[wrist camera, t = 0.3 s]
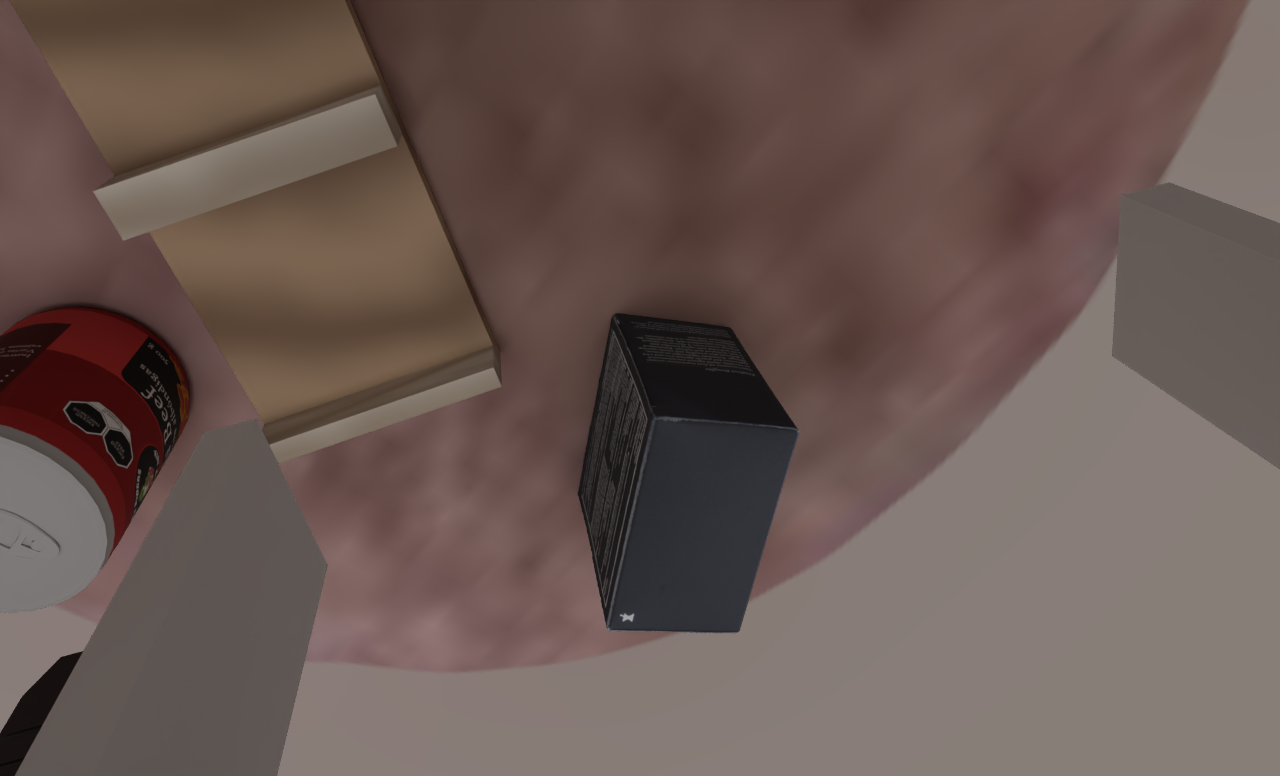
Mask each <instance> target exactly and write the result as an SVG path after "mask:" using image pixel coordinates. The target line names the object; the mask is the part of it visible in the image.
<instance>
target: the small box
mask: <svg viewBox="0 0 1280 776" xmlns="http://www.w3.org/2000/svg"><path fill="white" fill-rule="evenodd" d="M798 435H799V430H798V429H797V427H796V426H795V424H794V423H793V421H792V420H791V419H790V417H789V416H788V414H787V413H786V411H785V410H784V408H783V407H782V405H781V404H780V402H779V401H778V399H777V398H776V396H775V395H774V393H773V392H772V390H771V389H770V388H769V386H768V384H767V383H766V381H765V380H764V378H763V377H762V375H761V374H760V372H759V371H758V369H757V368H756V366H755V365H754V363H753V362H752V360H751V358H750V357H749V356H748V354H747V352H746V351H745V349H744V348H743V346H742V345H741V343H740V341H739V340H738V339H737V337H736V335H735V334H734V332H733V331H732V329H731V328H727V327H720V326H713V325H706V324H696V323H689V322H681V321H674V320H664V319H656V318H648V317H641V316H632V315H624V314H616V315H614V316H613V317H612V320H611V327H610V332H609V336H608V341H607V346H606V351H605V357H604V361H603V367H602V372H601V377H600V379H599V387H598V392H597V397H596V403H595V408H594V413H593V418H592V423H591V427H590V432H589V438H588V444H587V449H586V453H585V459H584V465H583V471H582V477H581V482H580V488H579V492H578V496H579V500H580V503H581V508H582V512H583V515H584V520H585V523H586V527H587V533H588V537H589V542H590V546H591V551H592V559H593V563H594V568H595V573H596V579H597V583H598V587H599V594H600V597H601V603H602V608H603V611H604V616H605V622H606V627H607V629H608V630H609V631H649V632H690V633H692V632H694V633H737V632H739V631H740V627H741V624H742V621H743V617H744V614H745V611H746V607H747V604H748V601H749V597H750V594H751V590H752V587H753V584H754V580H755V577H756V573H757V570H758V567H759V563H760V560H761V557H762V553H763V550H764V547H765V543H766V540H767V536H768V533H769V530H770V526H771V523H772V520H773V517H774V513H775V510H776V507H777V504H778V500H779V497H780V494H781V490H782V487H783V484H784V480H785V477H786V474H787V471H788V468H789V464H790V461H791V458H792V454H793V451H794V448H795V445H796V442H797V438H798Z"/></svg>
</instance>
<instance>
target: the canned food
mask: <svg viewBox="0 0 1280 776" xmlns="http://www.w3.org/2000/svg"><path fill="white" fill-rule="evenodd" d="M189 408H190V405H189V392H188V383H187V380H186V377H185V373H184V370H183V368H182V367H181V365H180V363H179V361H178V360H177V358H176V356H175V355H174V354H173V353H172V351H171V350H170V349H169V348H168V347H167V345H166V344H165V343H164V342H163V341H161V340H160V339H159V338H158V337H157V336H156V335H154V334H153V333H152V332H151V331H149V330H148V329H146V328H144V327H143V326H141V325H139V324H138V323H136V322H134V321H132V320H130V319H127V318H125V317H123V316H120V315H118V314H115V313H111V312H107V311H103V310H99V309H91V308H81V307H77V308H61V309H56V310H51V311H47V312H43V313H39V314H35V315H32V316H30V317H28V318H26V319H23V320H21V321H19V322H17V323H16V324H15V325H13V326H12V327H11V328H10V329H8V330H7V331H6V332H5V333H4V334H2V335H1V336H0V613H16V612H25V611H34V610H38V609H42V608H46V607H49V606H53V605H56V604H58V603H60V602H62V601H65V600H67V599H69V598H71V597H73V596H74V595H76V594H77V593H78V592H80V591H81V590H83V589H84V588H85V587H87V586H88V584H89V583H90V582H91V581H92V580H93V578H94V577H95V576H96V575H97V574H98V572H99V571H100V570H101V569H102V568H103V567H104V565H105V564H106V563H107V561H108V559H109V557H110V556H111V554H112V552H113V551H114V549H115V548H116V547H117V545H118V543H119V541H120V540H121V538H122V536H123V534H124V533H125V531H126V529H127V528H128V526H129V524H130V522H131V521H132V519H133V517H134V515H135V514H136V512H137V510H138V508H139V507H140V505H141V503H142V501H143V500H144V498H145V496H146V494H147V493H148V491H149V489H150V487H151V486H152V484H153V482H154V480H155V479H156V477H157V475H158V473H159V472H160V470H161V468H162V466H163V465H164V463H165V461H166V459H167V458H168V456H169V454H170V452H171V451H172V449H173V447H174V446H175V444H176V442H177V440H178V439H179V437H180V435H181V433H182V431H183V429H184V427H185V425H186V422H187V419H188V414H189Z"/></svg>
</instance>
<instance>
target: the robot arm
mask: <svg viewBox="0 0 1280 776" xmlns="http://www.w3.org/2000/svg"><path fill="white" fill-rule="evenodd" d="M1116 276H1117V277H1116V294H1115V312H1114V313H1115V314H1114V331H1113V349H1112V356H1113V357H1114V358H1116V359H1117V360H1119V361H1121V362H1122V363H1123V364H1125V365H1126V366H1128V367H1129V368H1131V369H1132V370H1134V371H1135V372H1137V373H1138V374H1140V375H1141V376H1143V377H1144V378H1145V379H1147V380H1148V381H1150V382H1151V383H1153V384H1155V385H1156V386H1157V387H1159V388H1160V389H1162V390H1163V391H1165V392H1166V393H1168V394H1169V395H1171V396H1172V397H1174V398H1175V399H1177V400H1178V401H1179V402H1181V403H1182V404H1184V405H1185V406H1187V407H1188V408H1190V409H1191V410H1193V411H1194V412H1196V413H1197V414H1199V415H1200V416H1202V417H1203V418H1205V419H1206V420H1208V421H1209V422H1211V423H1212V424H1214V425H1215V426H1216V427H1218V428H1219V429H1221V430H1222V431H1224V432H1225V433H1227V434H1228V435H1230V436H1232V437H1233V438H1234V439H1236V440H1237V441H1239V442H1240V443H1242V444H1243V445H1245V446H1246V447H1248V448H1249V449H1250V450H1252V451H1253V452H1255V453H1257V454H1258V455H1259V456H1261V457H1262V458H1264V459H1265V460H1267V461H1268V462H1270V463H1271V464H1273V465H1274V466H1276V467H1277V468H1279V469H1280V223H1278V222H1275V221H1272V220H1270V219H1267V218H1264V217H1261V216H1258V215H1256V214H1253V213H1251V212H1248V211H1245V210H1242V209H1240V208H1237V207H1234V206H1232V205H1229V204H1226V203H1223V202H1220V201H1218V200H1215V199H1212V198H1209V197H1207V196H1204V195H1202V194H1199V193H1196V192H1194V191H1191V190H1188V189H1185V188H1183V187H1180V186H1177V185H1175V184H1172V183H1165V184H1161V185H1157V186H1154V187H1150V188H1146V189H1142V190H1138V191H1134V192H1130V193H1126V194H1123V195H1121V201H1120V219H1119V238H1118V256H1117V275H1116ZM327 566H328V565H327V563H326V561H325V559H324V557H323V555H322V553H321V550H320V548H319V546H318V544H317V542H316V540H315V538H314V536H313V534H312V532H311V530H310V528H309V526H308V524H307V522H306V520H305V518H304V515H303V513H302V511H301V509H300V507H299V505H298V503H297V501H296V499H295V497H294V495H293V493H292V491H291V489H290V487H289V485H288V483H287V480H286V478H285V476H284V474H283V472H282V470H281V468H280V466H279V464H278V462H277V460H276V458H275V456H274V454H273V452H272V450H271V448H270V445H269V443H268V441H267V439H266V437H265V435H264V433H263V431H262V429H261V427H260V425H259V423H258V421H257V419H254V420H250V421H246V422H242V423H238V424H234V425H231V426H227V427H223V428H219V429H215V430H211V431H207V432H204V433H203V435H202V437H201V438H200V440H199V442H198V444H197V446H196V448H195V449H194V451H193V453H192V455H191V457H190V458H189V460H188V462H187V464H186V466H185V468H184V469H183V471H182V473H181V475H180V477H179V478H178V480H177V482H176V484H175V486H174V487H173V489H172V491H171V493H170V495H169V497H168V498H167V500H166V502H165V504H164V506H163V507H162V509H161V511H160V513H159V515H158V517H157V518H156V520H155V522H154V524H153V526H152V527H151V529H150V531H149V533H148V535H147V537H146V538H145V540H144V542H143V544H142V546H141V547H140V549H139V551H138V553H137V555H136V556H135V558H134V560H133V562H132V564H131V566H130V567H129V569H128V571H127V573H126V575H125V576H124V578H123V580H122V582H121V584H120V586H119V587H118V589H117V591H116V593H115V595H114V596H113V598H112V600H111V602H110V604H109V606H108V607H107V609H106V611H105V613H104V615H103V616H102V618H101V620H100V622H99V624H98V626H97V627H96V629H95V631H94V633H93V635H92V636H91V638H90V640H89V642H88V644H87V646H86V647H85V649H84V651H82V652H79V653H74V654H71V655H67V656H63V657H61V658H60V659H59V660H58V661H57V662H56V663H55V664H54V665H53V666H52V667H51V668H50V669H49V670H48V671H47V672H46V673H45V674H44V675H43V676H42V677H41V678H40V679H39V680H38V681H37V682H36V683H35V684H34V685H33V686H32V687H31V688H30V689H29V690H28V691H27V692H26V693H25V694H24V695H23V696H22V698H21V699H20V701H19V703H18V704H17V706H16V708H15V709H14V711H13V713H12V715H11V716H10V718H9V719H8V721H7V723H6V725H5V726H4V728H3V729H2V731H1V733H0V776H277V774H278V769H279V765H280V761H281V757H282V753H283V749H284V745H285V740H286V736H287V732H288V728H289V724H290V719H291V715H292V711H293V707H294V703H295V698H296V695H297V691H298V686H299V682H300V678H301V674H302V669H303V665H304V661H305V657H306V653H307V649H308V645H309V641H310V637H311V632H312V628H313V624H314V620H315V616H316V612H317V608H318V603H319V599H320V595H321V591H322V587H323V583H324V578H325V574H326V570H327Z"/></svg>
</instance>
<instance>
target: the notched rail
mask: <svg viewBox="0 0 1280 776" xmlns="http://www.w3.org/2000/svg"><path fill="white" fill-rule="evenodd" d="M10 2H11V4H12V5H13V7H14V9H15V10H16V12H17V14H18V15H19V17H20V19H21V20H22V22H23V24H24V25H25V27H26V29H27V30H28V32H29V34H30V35H31V37H32V39H33V40H34V42H35V44H36V45H37V47H38V49H39V50H40V52H41V54H42V55H43V57H44V59H45V60H46V62H47V64H48V65H49V67H50V69H51V70H52V72H53V74H54V75H55V77H56V79H57V80H58V82H59V84H60V85H61V87H62V88H63V90H64V92H65V93H66V95H67V97H68V98H69V100H70V102H71V103H72V105H73V107H74V108H75V110H76V112H77V113H78V115H79V117H80V118H81V120H82V122H83V123H84V125H85V127H86V128H87V130H88V132H89V133H90V135H91V137H92V138H93V140H94V142H95V143H96V145H97V147H98V148H99V150H100V152H101V153H102V155H103V157H104V158H105V160H106V162H107V163H108V165H109V167H110V168H111V170H112V171H113V173H114V175H115V176H114V177H113V178H112V179H110V180H109V181H107V182H106V183H104V184H103V185H101V186H100V187H98V188H97V189H96V190H94V191H93V192H94V194H95V195H96V197H97V199H98V200H99V202H100V204H101V205H102V207H103V208H104V210H105V212H106V213H107V215H108V216H109V218H110V220H111V221H112V223H113V224H114V226H115V228H116V229H117V231H118V233H119V234H120V236H121V237H122V239H123V241H124V240H127V239H130V238H132V237H135V236H138V235H141V234H144V233H147V232H149V233H150V235H151V236H152V238H153V240H154V241H155V243H156V245H157V246H158V248H159V250H160V251H161V253H162V255H163V256H164V258H165V259H166V261H167V263H168V264H169V266H170V268H171V269H172V271H173V273H174V274H175V276H176V278H177V279H178V281H179V283H180V284H181V286H182V288H183V289H184V291H185V293H186V294H187V296H188V298H189V299H190V301H191V303H192V304H193V306H194V308H195V309H196V311H197V313H198V314H199V316H200V318H201V319H202V321H203V323H204V324H205V326H206V328H207V329H208V331H209V333H210V334H211V336H212V338H213V339H214V341H215V342H216V344H217V346H218V347H219V349H220V351H221V352H222V354H223V356H224V357H225V359H226V361H227V362H228V364H229V366H230V367H231V369H232V371H233V372H234V374H235V376H236V377H237V379H238V381H239V382H240V384H241V386H242V387H243V389H244V391H245V392H246V394H247V396H248V397H249V399H250V401H251V402H252V404H253V406H254V407H255V409H256V411H257V412H258V414H259V416H260V417H261V419H262V421H263V422H264V424H265V425H264V427H263V429H262V431H263V433H264V435H265V437H266V439H267V441H268V443H269V445H270V448H271V450H272V452H273V454H274V456H275V458H276V460H277V462H278V464H279V463H282V462H284V461H287V460H290V459H293V458H296V457H299V456H302V455H305V454H308V453H311V452H313V451H316V450H319V449H322V448H325V447H328V446H331V445H334V444H337V443H340V442H342V441H345V440H348V439H351V438H354V437H357V436H360V435H363V434H366V433H368V432H371V431H374V430H377V429H380V428H383V427H386V426H389V425H392V424H395V423H397V422H400V421H403V420H406V419H409V418H412V417H415V416H418V415H421V414H424V413H426V412H429V411H432V410H435V409H438V408H441V407H444V406H447V405H450V404H453V403H455V402H458V401H461V400H464V399H467V398H470V397H473V396H476V395H479V394H481V393H484V392H487V391H490V390H493V389H496V388H499V387H502V380H501V360H500V351H499V349H498V347H497V344H496V342H495V340H494V337H493V335H492V333H491V330H490V328H489V326H488V323H487V321H486V319H485V316H484V314H483V311H482V309H481V307H480V304H479V302H478V300H477V297H476V295H475V293H474V290H473V288H472V286H471V283H470V281H469V279H468V276H467V274H466V272H465V269H464V267H463V264H462V262H461V260H460V257H459V255H458V253H457V250H456V248H455V246H454V243H453V241H452V239H451V236H450V234H449V232H448V229H447V227H446V225H445V222H444V220H443V218H442V215H441V213H440V210H439V208H438V206H437V203H436V201H435V199H434V196H433V194H432V192H431V189H430V187H429V185H428V182H427V180H426V178H425V175H424V173H423V171H422V168H421V166H420V163H419V161H418V159H417V156H416V154H415V152H414V149H413V147H412V145H411V142H410V140H409V138H408V135H407V133H406V131H405V128H404V126H403V124H402V121H401V119H400V117H399V114H398V112H397V109H396V107H395V105H394V102H393V100H392V98H391V95H390V93H389V91H388V88H387V86H386V84H385V81H384V79H383V77H382V74H381V72H380V70H379V67H378V65H377V62H376V60H375V58H374V55H373V53H372V51H371V48H370V46H369V44H368V41H367V39H366V37H365V34H364V32H363V30H362V27H361V25H360V23H359V20H358V18H357V16H356V13H355V11H354V8H353V6H352V4H351V1H350V0H10Z"/></svg>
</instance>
